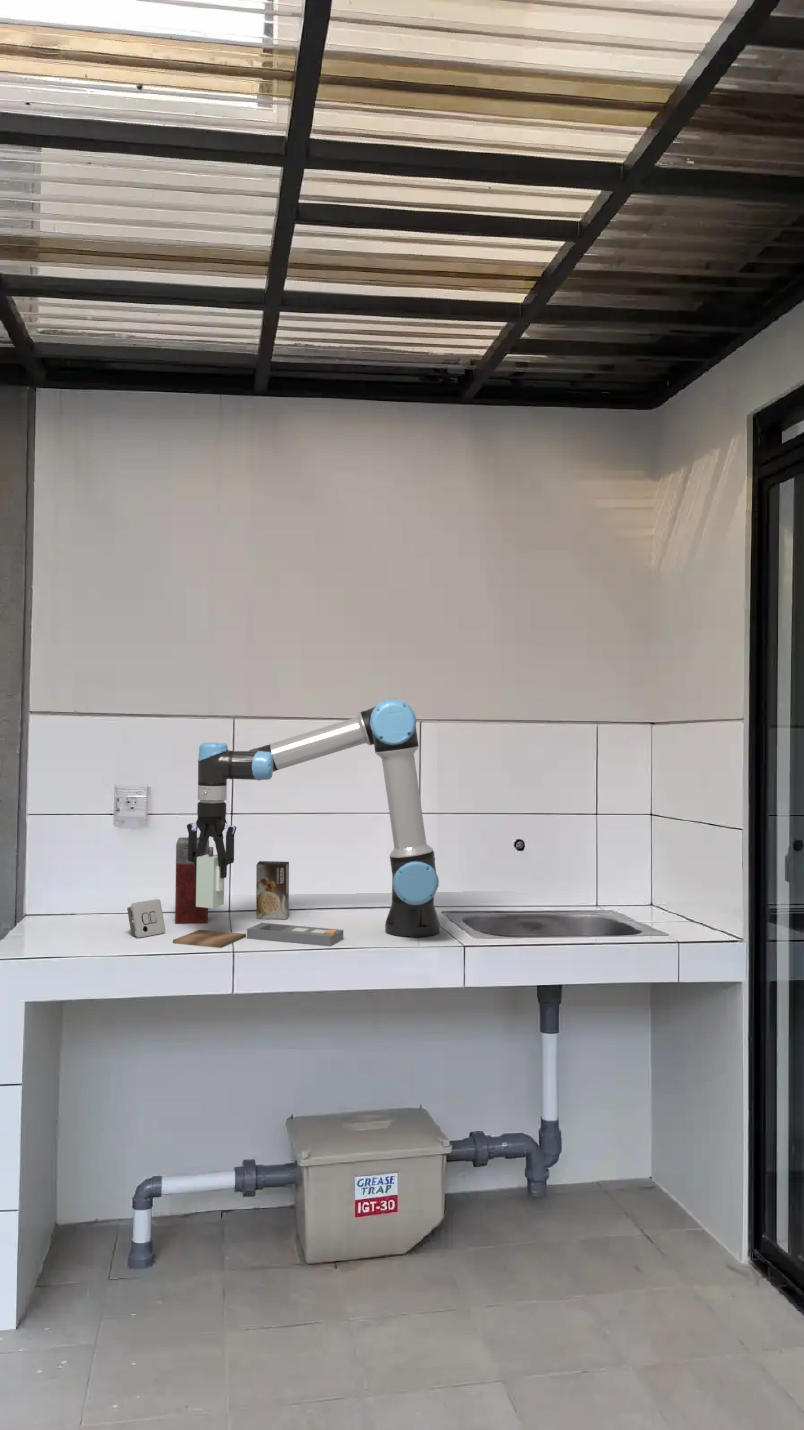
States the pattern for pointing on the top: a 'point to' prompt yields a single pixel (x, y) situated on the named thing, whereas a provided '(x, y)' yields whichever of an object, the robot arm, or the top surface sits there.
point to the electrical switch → (146, 918)
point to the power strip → (295, 934)
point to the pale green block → (208, 881)
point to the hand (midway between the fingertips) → (210, 889)
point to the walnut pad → (209, 938)
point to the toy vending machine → (187, 887)
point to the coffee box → (272, 890)
